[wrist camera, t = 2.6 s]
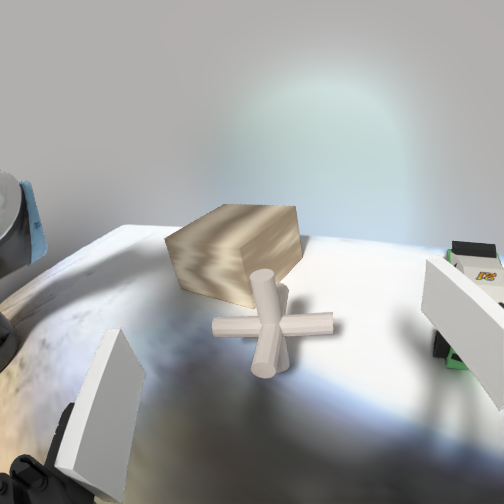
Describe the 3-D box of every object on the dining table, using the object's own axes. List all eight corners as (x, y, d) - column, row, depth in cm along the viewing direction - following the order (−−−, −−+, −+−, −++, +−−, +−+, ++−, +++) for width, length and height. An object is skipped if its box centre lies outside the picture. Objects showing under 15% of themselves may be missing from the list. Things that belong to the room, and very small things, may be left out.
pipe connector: (333, 327, 30) (327, 239, 25) (334, 407, 21) (332, 314, 17) (240, 331, 32) (217, 250, 28) (215, 405, 24) (176, 319, 19)
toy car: (429, 378, 21) (442, 337, 19) (436, 266, 35) (439, 233, 33) (525, 383, 16) (547, 344, 13) (501, 272, 30) (508, 238, 28)
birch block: (181, 288, 43) (164, 238, 40) (234, 248, 52) (224, 204, 49) (253, 308, 35) (239, 248, 32) (302, 257, 44) (295, 206, 41)
